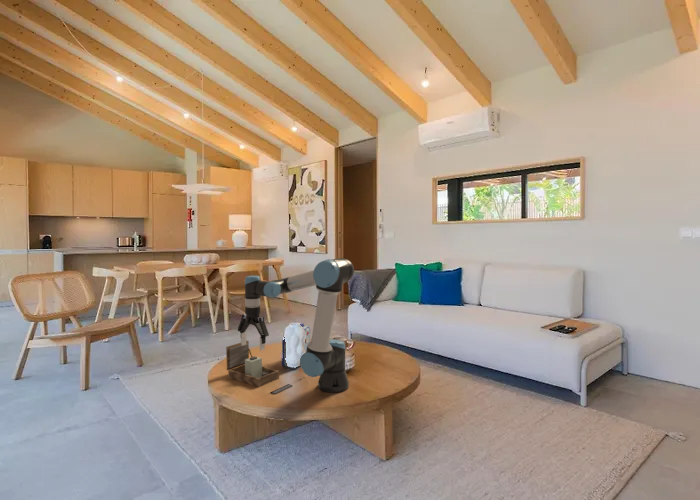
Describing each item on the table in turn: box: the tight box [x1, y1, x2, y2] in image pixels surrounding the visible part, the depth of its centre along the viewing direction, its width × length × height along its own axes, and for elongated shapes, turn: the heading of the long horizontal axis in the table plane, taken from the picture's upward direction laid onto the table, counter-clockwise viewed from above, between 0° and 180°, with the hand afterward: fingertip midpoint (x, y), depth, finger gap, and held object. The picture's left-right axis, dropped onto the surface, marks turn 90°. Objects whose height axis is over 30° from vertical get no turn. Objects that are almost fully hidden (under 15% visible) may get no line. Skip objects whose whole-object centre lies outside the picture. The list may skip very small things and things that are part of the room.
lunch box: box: [281, 323, 311, 369], centre depth 239 cm, size 28×10×22 cm, turn 168°
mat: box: [269, 383, 293, 395], centre depth 203 cm, size 10×12×1 cm
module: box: [244, 356, 263, 378], centre depth 213 cm, size 5×7×11 cm
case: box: [225, 340, 280, 388], centre depth 214 cm, size 23×14×17 cm, turn 56°
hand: (252, 347), depth 213 cm, fingers open, 13 cm apart
